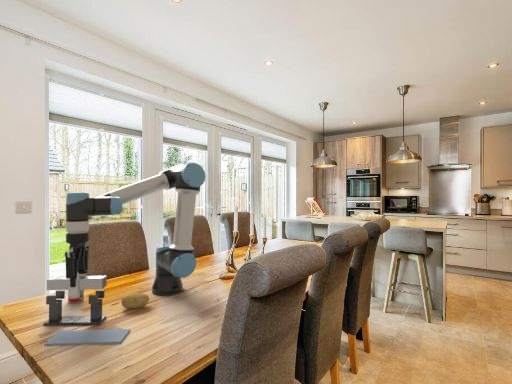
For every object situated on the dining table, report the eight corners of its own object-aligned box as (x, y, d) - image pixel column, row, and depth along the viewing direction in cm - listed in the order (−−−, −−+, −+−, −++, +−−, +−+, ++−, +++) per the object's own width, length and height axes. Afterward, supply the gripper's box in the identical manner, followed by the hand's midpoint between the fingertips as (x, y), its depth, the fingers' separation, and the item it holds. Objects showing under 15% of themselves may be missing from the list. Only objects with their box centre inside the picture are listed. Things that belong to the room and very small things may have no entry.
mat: (130, 330, 106) (130, 329, 106) (120, 343, 97) (120, 341, 97) (60, 332, 104) (60, 330, 104) (44, 345, 95) (44, 343, 95)
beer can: (76, 304, 130) (77, 268, 130) (64, 302, 131) (65, 267, 131) (87, 299, 136) (87, 264, 136) (75, 298, 137) (76, 263, 137)
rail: (106, 285, 115) (106, 275, 115) (102, 289, 111) (102, 278, 111) (53, 286, 114) (53, 276, 114) (46, 290, 110) (46, 279, 110)
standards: (106, 317, 116) (107, 289, 117) (99, 325, 110) (99, 295, 110) (53, 318, 115) (54, 290, 115) (42, 326, 108) (43, 296, 108)
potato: (122, 306, 128) (122, 291, 128) (149, 303, 132) (149, 289, 132) (120, 312, 122) (120, 297, 122) (148, 309, 125) (148, 294, 125)
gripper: (78, 229, 121) (78, 285, 121) (53, 235, 104) (53, 301, 104) (97, 229, 121) (97, 285, 121) (76, 235, 104) (76, 300, 104)
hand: (77, 292), depth 113 cm, fingers closed on rail, 4 cm apart
